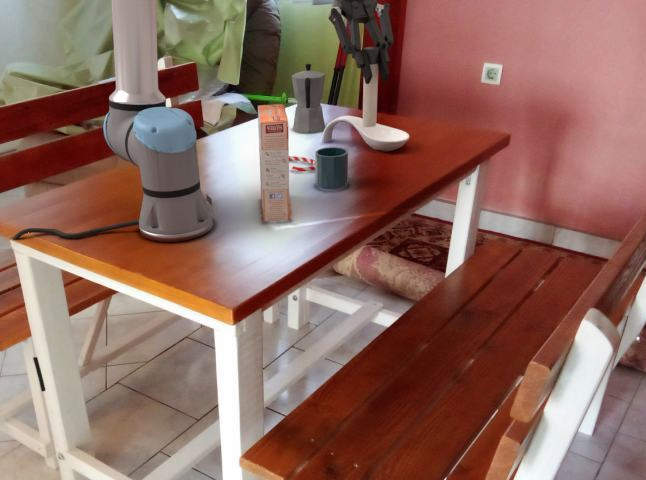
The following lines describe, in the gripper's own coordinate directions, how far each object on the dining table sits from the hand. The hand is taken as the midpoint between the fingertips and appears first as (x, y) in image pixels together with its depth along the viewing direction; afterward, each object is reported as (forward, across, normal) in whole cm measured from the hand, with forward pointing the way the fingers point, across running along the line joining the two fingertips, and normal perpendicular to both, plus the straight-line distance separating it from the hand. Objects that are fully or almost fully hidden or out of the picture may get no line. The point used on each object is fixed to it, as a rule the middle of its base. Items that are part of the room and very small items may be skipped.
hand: (377, 78), depth 148 cm
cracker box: (+20, -24, +15) cm, 34 cm away
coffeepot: (-20, +1, +55) cm, 59 cm away
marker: (+5, 0, +10) cm, 11 cm away
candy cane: (0, -12, +34) cm, 36 cm away
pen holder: (+13, -8, +22) cm, 26 cm away
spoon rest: (-6, +10, +40) cm, 42 cm away
